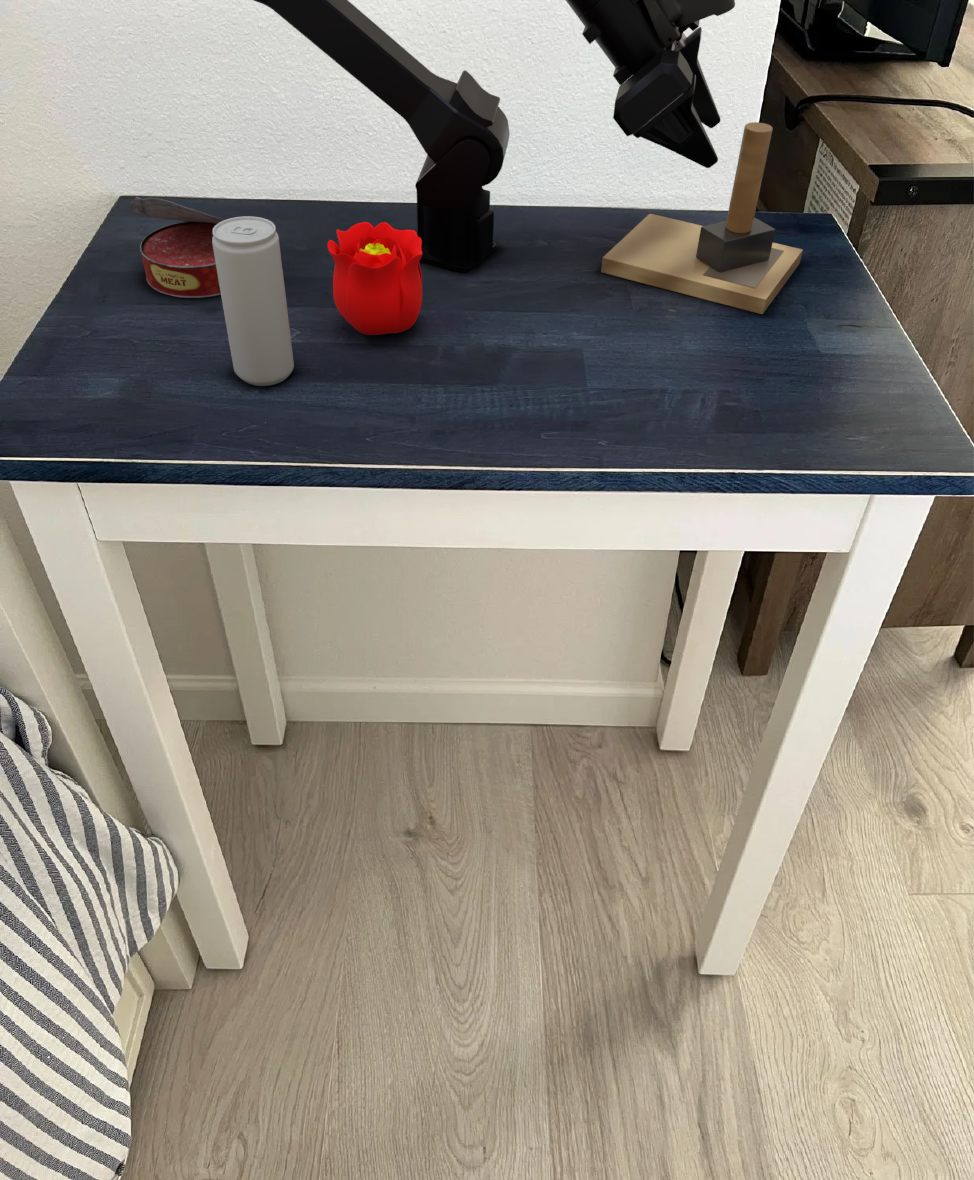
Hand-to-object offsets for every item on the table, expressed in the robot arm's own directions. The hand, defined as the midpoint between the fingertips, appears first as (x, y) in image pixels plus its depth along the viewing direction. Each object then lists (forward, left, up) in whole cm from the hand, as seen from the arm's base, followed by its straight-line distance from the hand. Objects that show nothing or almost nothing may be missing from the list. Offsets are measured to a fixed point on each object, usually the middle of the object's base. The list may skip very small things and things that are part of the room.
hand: (714, 143), depth 88 cm
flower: (-20, -24, -12) cm, 34 cm away
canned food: (-40, -24, -12) cm, 48 cm away
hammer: (+3, +2, -11) cm, 11 cm away
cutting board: (0, +2, -12) cm, 12 cm away
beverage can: (-24, -35, -12) cm, 44 cm away
